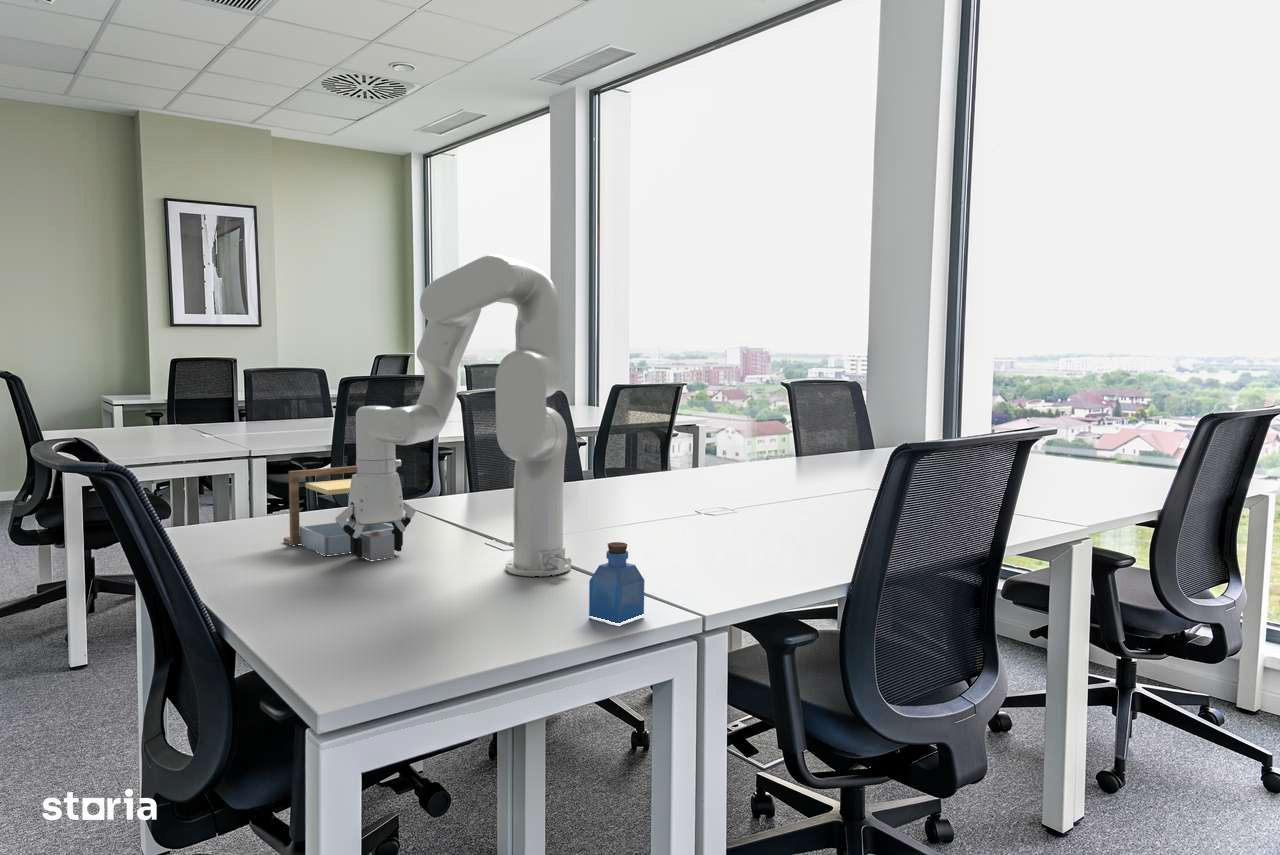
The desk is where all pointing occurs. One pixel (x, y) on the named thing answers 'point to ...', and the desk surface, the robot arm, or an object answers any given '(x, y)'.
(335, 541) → the tray
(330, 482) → the flap
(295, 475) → the bracket
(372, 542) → the gray cube
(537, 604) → the desk surface
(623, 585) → the perfume bottle
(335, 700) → the desk surface
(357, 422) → the robot arm
